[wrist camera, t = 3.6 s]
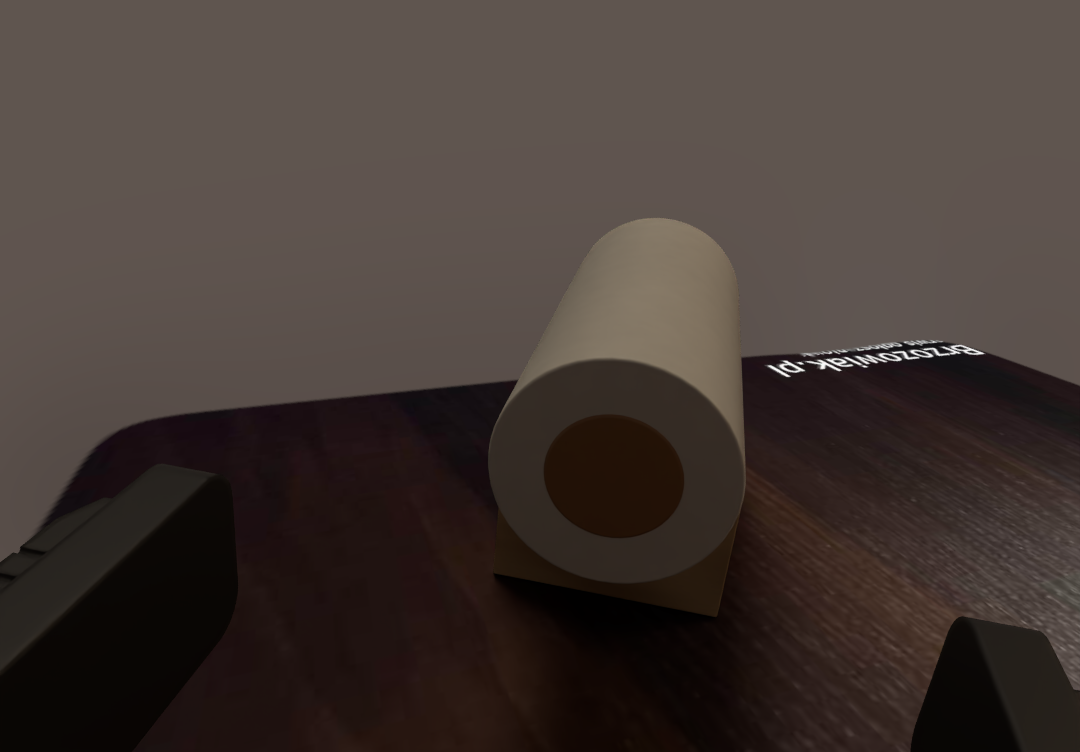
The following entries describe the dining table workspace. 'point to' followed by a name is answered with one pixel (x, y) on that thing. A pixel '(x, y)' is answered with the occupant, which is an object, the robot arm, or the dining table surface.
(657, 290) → the paper towel roll
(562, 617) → the dining table surface
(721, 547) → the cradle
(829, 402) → the dining table surface
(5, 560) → the robot arm
